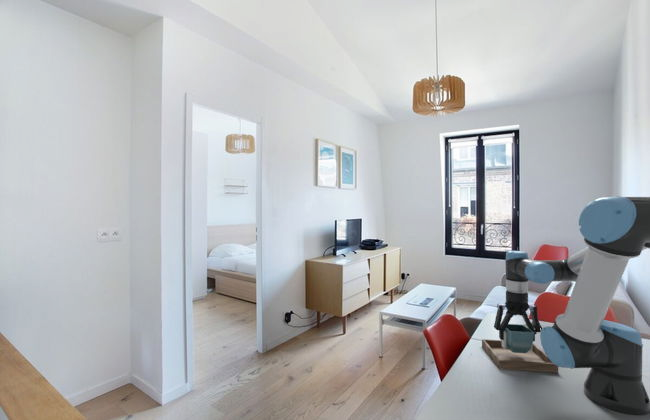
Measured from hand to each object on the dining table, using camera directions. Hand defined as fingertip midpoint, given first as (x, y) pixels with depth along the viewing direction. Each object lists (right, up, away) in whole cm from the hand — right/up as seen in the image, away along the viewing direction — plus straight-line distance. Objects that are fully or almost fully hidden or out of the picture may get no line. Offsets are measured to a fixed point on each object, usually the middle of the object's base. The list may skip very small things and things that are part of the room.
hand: (516, 348), depth 127 cm
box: (0, -4, 0) cm, 4 cm away
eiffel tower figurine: (+28, -4, +33) cm, 44 cm away
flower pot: (0, -1, 0) cm, 1 cm away
